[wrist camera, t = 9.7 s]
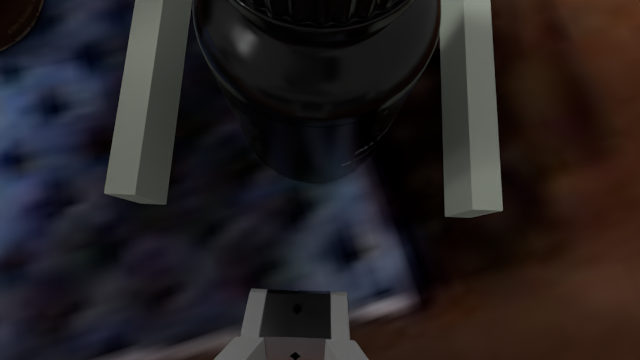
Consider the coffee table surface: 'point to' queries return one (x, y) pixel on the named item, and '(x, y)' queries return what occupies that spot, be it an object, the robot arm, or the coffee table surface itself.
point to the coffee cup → (17, 19)
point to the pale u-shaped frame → (165, 86)
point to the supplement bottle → (316, 74)
